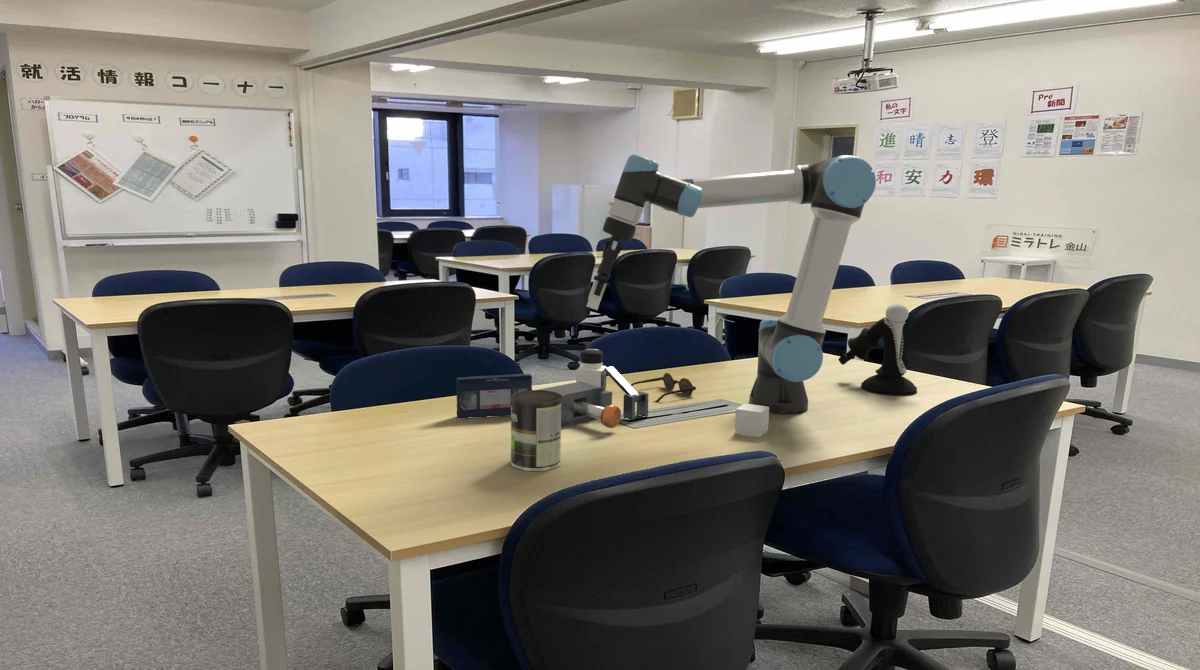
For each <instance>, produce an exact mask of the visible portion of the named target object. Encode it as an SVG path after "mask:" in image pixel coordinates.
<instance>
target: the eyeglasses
mask: <svg viewBox="0 0 1200 670" xmlns="http://www.w3.org/2000/svg"><path fill="white" fill-rule="evenodd" d="M658 381H663V384H664V387H665V388H666V387H667V388H666V389H668V388H669V390H671V389H672V391H668V392H665V393H664V394H662V395H660V396H659V397H658V398H657V399H656V400H655V401H653V402H657V403H658V402H660V401H661V400H662V399H663V398H664V397H665V396H669V395H674V394H678V393H682V394H684V393H685V394H684V395H688V394H689V395H688V396H691V395H692V394H693V391H696V390H697V387H696V386H694V385H693V384H692V382H691V381H690V380H689V379H688V378H685V377H682V378H680V380H677V379H674V378H673V376H672V374H670V373H669V372H665V373H664V374H663V376H661V377H655V378H650V379H644V380H640V381H635V382H633V383H631V384H630V385H631V386H632V387H633V386H634V385H639V384H645V383H646V384H647V383H652V382H658ZM676 384H678V388H679V389H678V390H674V388H675V385H676ZM673 390H674V391H673Z"/></svg>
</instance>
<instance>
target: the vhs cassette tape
mask: <svg viewBox="0 0 1200 670" xmlns="http://www.w3.org/2000/svg"><path fill="white" fill-rule="evenodd" d="M455 379H456V390H455V391H456V416H457V419H458V418H466V419H469V418H468V417H482V418H488V417H487V416H498V417H507V416H506V415H511V399H510V397H511V395H512V394H514V393H517V392H520V391H527V390H533V381H532V380H533V377H532V375H531V373H517V374H497V375H477V376H462V377H456V378H455Z"/></svg>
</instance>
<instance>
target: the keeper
mask: <svg viewBox="0 0 1200 670" xmlns="http://www.w3.org/2000/svg"><path fill="white" fill-rule="evenodd" d="M604 371H605V372H606V375H607V376H609V378H611V380H612V381H613V382H614V383H615V384H616V385H617V386H618V388H620V389H621V391H623V393H624V392H625V393H624V395H625V394H628V395H632V396H635V403H637V402H640V401H643V399H644V397H643V394H642V393H637V392H638V391H637V390H635V389H634V388H633V386H631V384H630V383H629V382H628V381H627V380H626V379H625V378H624V376H622V375H621V374H620V372H618V370H617V369H616V368H615V367H614V366H613V365H612V366H608V367H607V366H606V368H605V370H604Z"/></svg>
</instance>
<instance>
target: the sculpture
mask: <svg viewBox="0 0 1200 670" xmlns="http://www.w3.org/2000/svg"><path fill="white" fill-rule="evenodd" d="M909 315H910V314H909V310H908V307H906V305H904V304H902V303H892V304H890V305H889V306H888V307H887V308H886V310H885V316H884V317H883V318H880V319H879V320H877V321H876V322H875V323H874V324H872V325H871V326H870V327H869V328H867V327H864V328H862V330H861V332H860V333H859V334H858V335H857V336H855V337H851V338H849V339H848V340H847V346H848V348H849V350H848V351H847V352H846V353H844V354H841V355H839V358H838V361H839V363H840V364H841V365H842V366H843V365H845V364H847V363H848V362H849V361H851V360H854V359H855V358H858V359H859V360H862V361H864V360H867V359H868V355H869V354H870V352H871V351H872V350H874V349H876V348H878V347H880V344H881V342H880V340H882V341H883V344H884V350H883V357H882V363H881V366H880V367H879V368H877V369H876V370H875V373H876V374H874V375H871V376H869V377H867V378H866V379H864V380H863V381H862V382H861V384H860V385H861V386H860V388H861V389H862V390H863V391H865V392H868V393H873V394H876V395H877V394H878V395H883V396H884V395H885V396H893V397H894V396H896V397H898V396H912V395H914V394H917V392H918V390H917V389H918V387H917V386H916V385H915V383H913V382H912V381H911V380H910V379H908V378H906V377H904V375H905V374H906V373H907V371H908V370H907V369H906V366H905V364H904V362H903V359H902V357H903V354H904V353H903V351H904V334H903V332H904V331H903V328H904V325H905V324H906V320H907V319H908V318H909Z"/></svg>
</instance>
